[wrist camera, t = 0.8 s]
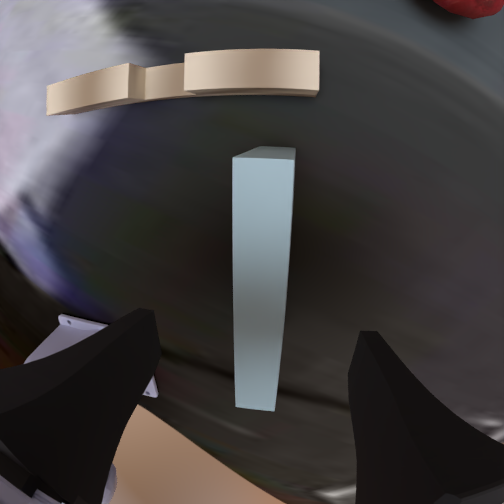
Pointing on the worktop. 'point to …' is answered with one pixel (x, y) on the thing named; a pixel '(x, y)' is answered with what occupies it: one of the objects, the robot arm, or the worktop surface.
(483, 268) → the worktop surface
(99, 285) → the worktop surface
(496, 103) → the worktop surface
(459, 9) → the onion
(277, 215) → the teal plate
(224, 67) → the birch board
